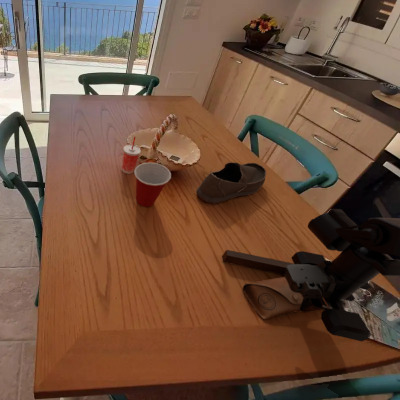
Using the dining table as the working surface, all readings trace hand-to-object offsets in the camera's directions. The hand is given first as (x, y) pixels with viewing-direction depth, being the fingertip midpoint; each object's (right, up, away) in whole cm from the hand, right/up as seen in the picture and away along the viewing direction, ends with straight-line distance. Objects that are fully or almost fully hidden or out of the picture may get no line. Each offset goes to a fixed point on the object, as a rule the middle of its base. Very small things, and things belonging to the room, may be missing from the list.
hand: (302, 310), depth 61 cm
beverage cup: (-33, +36, +40) cm, 63 cm away
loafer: (+3, +29, +34) cm, 45 cm away
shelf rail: (+1, +7, +10) cm, 12 cm away
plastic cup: (-29, +25, +27) cm, 47 cm away
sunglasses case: (-1, +1, +4) cm, 5 cm away
